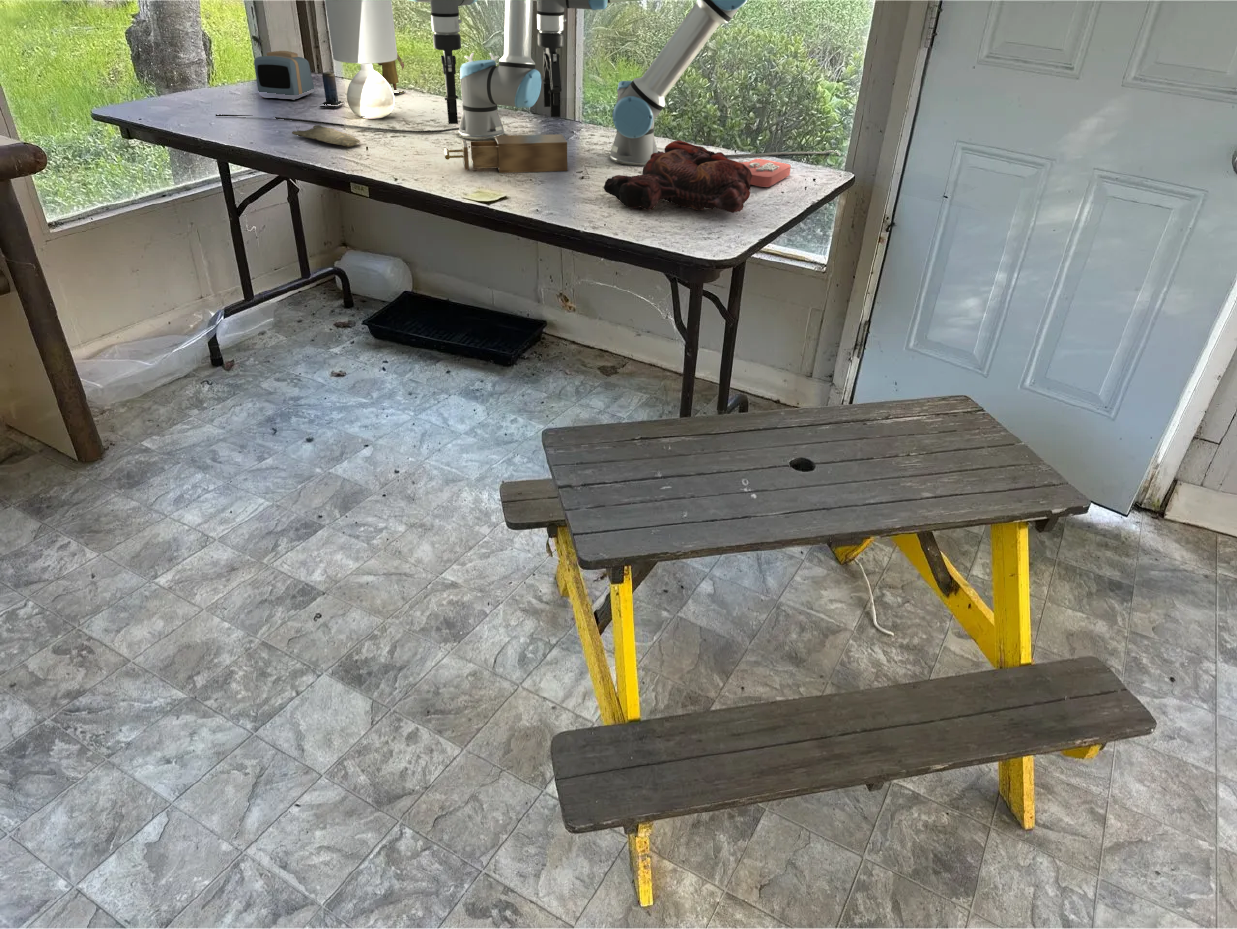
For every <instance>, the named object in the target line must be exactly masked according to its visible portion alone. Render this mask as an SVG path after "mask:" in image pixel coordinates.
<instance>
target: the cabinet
mask: <svg viewBox="0 0 1237 929" xmlns="http://www.w3.org/2000/svg"><path fill="white" fill-rule="evenodd" d="M494 141H496V142H497V145H498V157H499V167H498V168H497V170H498V173H499V174H506V173H508V174H509V173H540V172H541V173H543V172H545V173H546V172H568V141H567V140H566V138H565V137H564V135H563V134H562V133H561V134H559V133H557V134H555V133H554V134H518V135H517V134H516V135H515V134H513V135H509V134H507V135H504V136H495V139H494Z"/></svg>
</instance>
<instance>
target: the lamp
mask: <svg viewBox="0 0 1237 929" xmlns="http://www.w3.org/2000/svg"><path fill="white" fill-rule="evenodd" d="M324 3H325V9H326V18H327V23H328V30H329V37H330V45H331V51H332V58H333V60H334V61H336V62H341V63H348V64H360V70H358V71H357V72H356V74H354V76H353V77H352V79H351V80H350V82H349V84H348V87H347V92H346V101H347V104H348V107H349V109H350V110H351V112H352V113H354V115H356V116H358V117H360V118H362V119H368V120H369V119H370V120H371V119H372V120H375V119H382V118H385V117H387V116H389V115H390V114H391V113H392V111H393V110H394V107H395V103H396V102H395V95H394V94H393V91H392V90H393V89H392V87H391V84H390V85H389V84H388V82H387V81H386V80H385V79H384V78H383V77H382V74H380V73H379V72H378V71H376V70H375V68H374V67H373V64H378V63H383V62H390V61H394V60H398V59H397V53H398V50H397V40H396V31H395V21H394V13H393V2H392V0H324ZM361 116H365V117H361Z"/></svg>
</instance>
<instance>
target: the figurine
mask: <svg viewBox="0 0 1237 929" xmlns="http://www.w3.org/2000/svg"><path fill="white" fill-rule="evenodd" d="M396 60H397V61H398V63H399V64H400V67H401V69H402V70H401V71H404V68H405V63H404V62H403V59H402V58H401V56H400V55H399V53H398V52H397V59H396ZM396 60H394V61H390V62H383V63H377V65H378V66H380V67H381V72H382V74H381V76H382V77H383V78H384V79H385V80H386V81H387V82H388V84H389V85H390V86H391V85H392V87H393V90H398V89H397V88H398V87H397V84H399V81H400V80H399V75H398V71H397V62H396ZM401 91H402V92H399V93H393V94H394V96H399V95H401V94H400V93H403V92H404V91H405V90H401ZM398 94H399V95H398ZM403 94H404V93H403Z"/></svg>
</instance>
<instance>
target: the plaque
mask: <svg viewBox="0 0 1237 929" xmlns="http://www.w3.org/2000/svg"><path fill="white" fill-rule="evenodd" d="M739 162H740V163H742V164H744V165H745V166H746V167H747V168H749V169H750V171H751V173H752V178H751V180H750V186H751V185H752V186H755V187H762V188H769V187H772V186H773V185H775V184H777V183H779V182H780V181H782V180H784V179H786V178H788V177H789V176H790V175H791V168H792V165H791V164H789V163H786V162H781V161H775V160H769V159H763V158H754V159H752V160H749V161H739Z"/></svg>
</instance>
